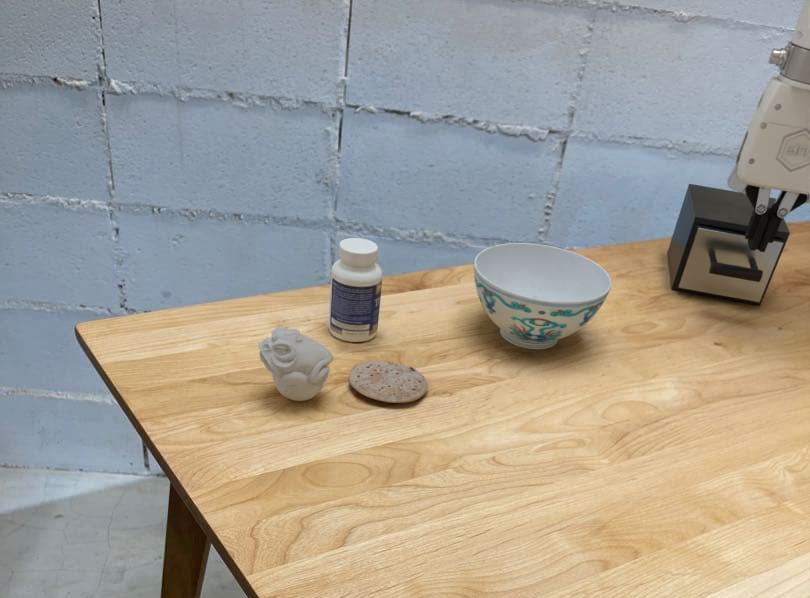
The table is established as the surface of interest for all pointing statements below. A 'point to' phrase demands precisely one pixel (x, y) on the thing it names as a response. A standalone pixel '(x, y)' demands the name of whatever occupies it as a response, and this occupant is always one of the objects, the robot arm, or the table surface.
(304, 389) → the frog figurine
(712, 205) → the cabinet
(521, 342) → the chinaware
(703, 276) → the drawer
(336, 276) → the pill bottle
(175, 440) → the table surface
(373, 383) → the flatbread
